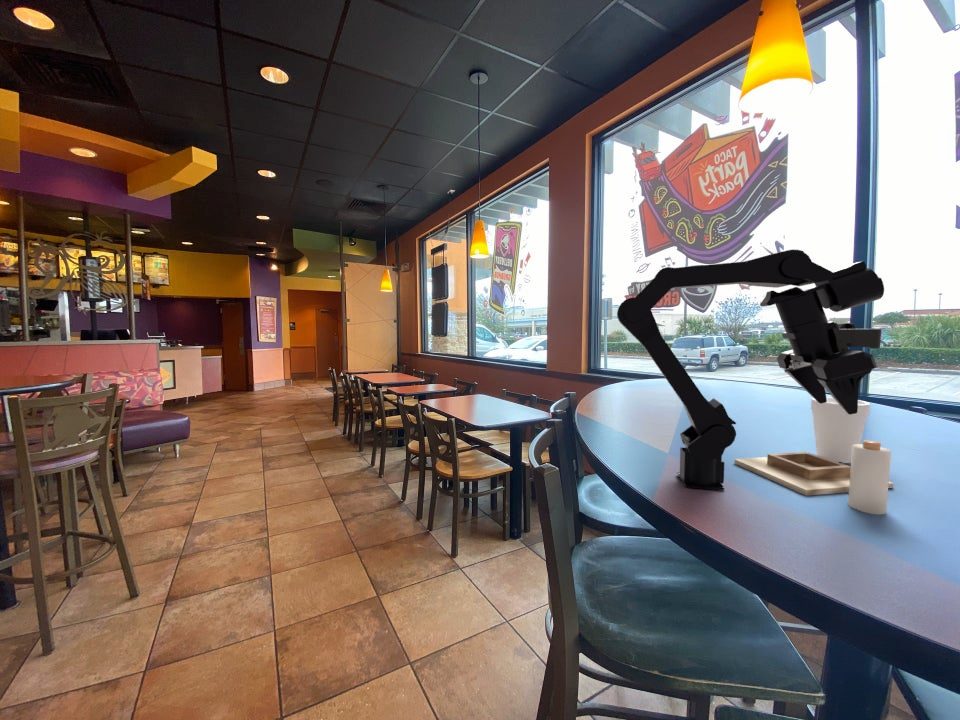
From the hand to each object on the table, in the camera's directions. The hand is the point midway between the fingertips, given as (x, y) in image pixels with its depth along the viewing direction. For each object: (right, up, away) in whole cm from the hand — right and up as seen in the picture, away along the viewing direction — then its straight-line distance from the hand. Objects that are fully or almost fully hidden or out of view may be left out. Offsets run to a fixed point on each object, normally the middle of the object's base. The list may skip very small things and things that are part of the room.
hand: (836, 407), depth 65 cm
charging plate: (+4, -15, +11) cm, 19 cm away
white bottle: (+2, -16, -3) cm, 16 cm away
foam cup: (+19, -14, +20) cm, 31 cm away
